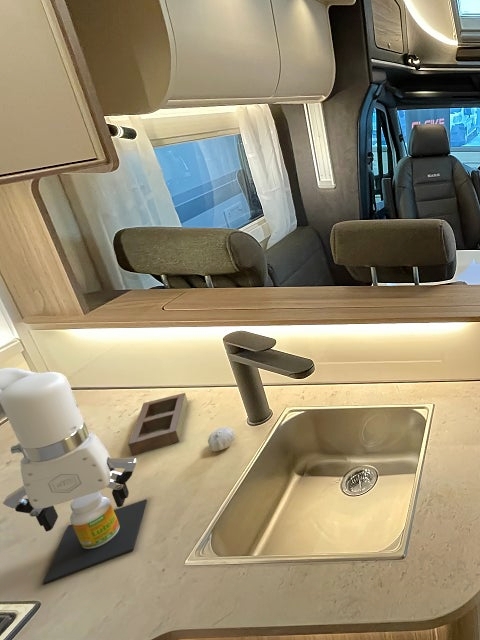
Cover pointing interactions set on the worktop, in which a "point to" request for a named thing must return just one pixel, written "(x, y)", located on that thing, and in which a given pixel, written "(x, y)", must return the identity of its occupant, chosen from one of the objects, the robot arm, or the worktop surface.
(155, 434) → the stand
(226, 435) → the garlic
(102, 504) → the supplement bottle
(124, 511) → the mat
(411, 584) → the worktop surface
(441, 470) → the worktop surface
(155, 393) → the worktop surface
